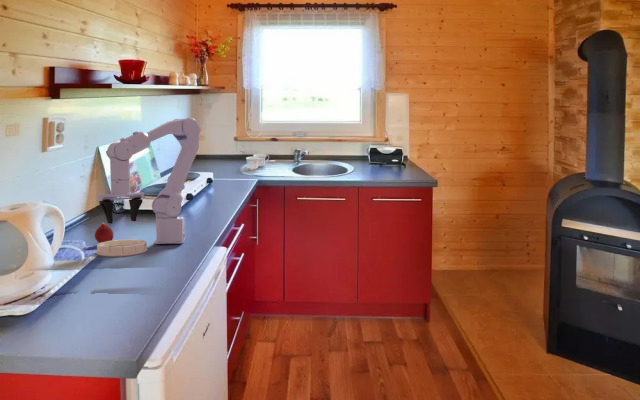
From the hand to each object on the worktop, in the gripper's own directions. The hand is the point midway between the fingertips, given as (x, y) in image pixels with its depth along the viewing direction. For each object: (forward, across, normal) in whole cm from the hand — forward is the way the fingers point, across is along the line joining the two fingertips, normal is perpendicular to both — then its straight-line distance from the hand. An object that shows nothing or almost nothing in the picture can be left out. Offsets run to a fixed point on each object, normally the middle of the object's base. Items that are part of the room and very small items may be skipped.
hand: (121, 222), depth 156 cm
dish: (+9, +1, +2) cm, 9 cm away
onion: (+10, +1, -13) cm, 16 cm away
